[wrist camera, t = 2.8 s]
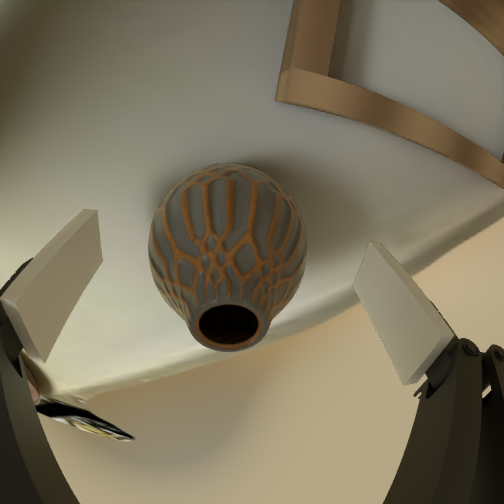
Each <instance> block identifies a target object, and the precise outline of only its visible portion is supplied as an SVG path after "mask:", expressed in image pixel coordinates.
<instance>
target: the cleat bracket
mask: <svg viewBox="0 0 504 504" xmlns="http://www.w3.org/2000/svg"><path fill="white" fill-rule="evenodd" d="M439 1H441V2H442V3H443V4H445V5H446V6H448V7H449V8H450V9H452V10H453V11H454V12H456V13H457V14H458V15H460V16H461V17H462V18H463V19H465V20H466V21H467V22H468V23H469V24H471V25H472V26H473V27H474V28H475V29H476V30H478V31H479V32H480V33H481V34H482V35H483V36H484V37H485V38H486V39H488V40H489V41H490V42H491V43H492V44H493V45H494V46H495V47H496V48H497V49H498V50H499V51H500V52H501V53H502V54H503V55H504V0H439ZM340 2H341V0H294V2H293V7H292V13H291V18H290V23H289V28H288V33H287V39H286V44H285V49H284V54H283V60H282V65H281V70H280V75H279V81H278V86H277V91H276V97H275V101H278V102H283V103H288V104H293V105H297V106H302V107H306V108H310V109H315V110H319V111H322V112H326V113H330V114H334V115H337V116H341V117H344V118H348V119H351V120H354V121H357V122H360V123H364V124H367V125H370V126H372V127H375V128H378V129H381V130H384V131H387V132H389V133H392V134H395V135H397V136H400V137H402V138H405V139H407V140H410V141H412V142H415V143H417V144H419V145H422V146H424V147H426V148H428V149H431V150H433V151H435V152H437V153H439V154H441V155H444V156H446V157H448V158H450V159H452V160H454V161H456V162H458V163H460V164H461V165H463V166H465V167H467V168H469V169H471V170H473V171H474V172H476V173H478V174H480V175H482V176H483V177H485V178H487V179H488V180H490V181H492V182H493V183H495V184H497V185H498V186H500V187H501V188H503V189H504V154H503V158H502V162H500V161H499V160H498V159H496V158H495V157H493V156H492V155H491V154H489V153H488V152H486V151H485V150H483V149H482V148H481V147H479V146H478V145H476V144H474V143H473V142H471V141H470V140H468V139H467V138H465V137H463V136H462V135H460V134H458V133H457V132H455V131H453V130H452V129H450V128H448V127H446V126H445V125H443V124H441V123H439V122H437V121H436V120H434V119H432V118H430V117H428V116H426V115H424V114H422V113H420V112H418V111H416V110H414V109H412V108H410V107H407V106H405V105H403V104H401V103H399V102H396V101H394V100H392V99H389V98H387V97H384V96H382V95H379V94H377V93H374V92H372V91H369V90H366V89H364V88H361V87H358V86H355V85H352V84H349V83H346V82H343V81H340V80H337V79H334V78H330V77H328V72H329V66H330V61H331V56H332V50H333V44H334V39H335V33H336V27H337V21H338V15H339V8H340Z"/></svg>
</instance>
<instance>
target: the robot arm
mask: <svg viewBox="0 0 504 504" xmlns="http://www.w3.org/2000/svg"><path fill="white" fill-rule="evenodd" d="M102 262H103V259H102V251H101V243H100V233H99V223H98V210H88V209H84V210H83V211H81V212H80V213H79V214H78V215H77V216H76V217H75V218H74V219H73V220H72V221H70V222H69V223H68V224H67V225H66V226H65V227H64V228H63V229H62V230H61V231H60V232H59V233H58V234H57V235H56V236H55V237H54V238H53V239H52V240H51V241H50V242H49V243H48V244H47V245H46V246H45V247H44V248H43V249H42V250H41V251H40V252H39V253H38V254H37V255H36V256H35V257H34V258H31V259H30V260H28V261H27V262H25V263H23V264H22V265H21V266H20V267H19V269H18V270H17V271H16V273H14V274H13V275H12V277H11V278H10V280H8V281H7V282H6V284H5V285H4V286H3V287H2V288H1V290H0V504H80V503H79V501H78V500H77V498H76V496H75V495H74V493H73V491H72V490H71V488H70V486H69V484H68V482H67V481H66V479H65V477H64V475H63V473H62V471H61V469H60V467H59V465H58V463H57V461H56V459H55V457H54V454H53V452H52V450H51V448H50V445H49V443H48V441H47V438H46V436H45V433H44V431H43V428H42V425H41V423H40V420H39V417H38V414H37V411H36V408H35V405H34V402H33V398H32V395H31V392H30V388H29V384H28V381H27V377H26V373H25V368H24V364H23V360H22V358H21V356H20V352H21V350H22V348H24V350H25V351H26V353H27V355H28V357H29V358H31V359H33V360H36V361H39V362H42V363H45V362H46V360H47V358H48V356H49V354H50V352H51V350H52V348H53V346H54V344H55V342H56V340H57V338H58V336H59V334H60V332H61V330H62V328H63V326H64V324H65V323H66V321H67V319H68V317H69V315H70V314H71V312H72V310H73V308H74V307H75V305H76V303H77V301H78V300H79V298H80V296H81V295H82V293H83V291H84V290H85V288H86V286H87V285H88V283H89V282H90V280H91V278H92V277H93V275H94V274H95V272H96V271H97V269H98V268H99V266H100V265H101V263H102ZM352 287H353V288H354V290H355V292H356V294H357V296H358V297H359V299H360V301H361V303H362V305H363V306H364V308H365V310H366V312H367V314H368V316H369V317H370V319H371V321H372V323H373V325H374V327H375V329H376V331H377V333H378V334H379V336H380V338H381V340H382V342H383V344H384V346H385V348H386V350H387V352H388V354H389V356H390V358H391V360H392V362H393V365H394V367H395V369H396V371H397V373H398V375H399V377H400V379H401V381H402V384H403V385H408V384H413V383H417V382H418V380H419V379H420V378H421V377H422V376H423V375H424V374H426V376H427V377H428V379H427V380H426V381H425V382H424V383H423V384H422V386H421V387H420V388H419V389H418V390H417V391H416V392H415V394H414V395H413V396H415V397H416V396H417V394H418V393H420V392H422V393H421V395H420V396H419V398H418V399H420V401H419V405H418V409H417V413H416V417H415V420H414V424H413V427H412V431H411V434H410V437H409V440H408V443H407V446H406V449H405V452H404V455H403V457H402V460H401V463H400V465H399V468H398V471H397V473H396V476H395V478H394V480H393V483H392V485H391V487H390V490H389V492H388V494H387V496H386V498H385V500H384V502H383V504H504V349H503V348H501V347H500V346H498V345H491V346H490V347H489V349H488V350H487V351H486V352H485V353H483V352H480V351H479V349H478V347H477V346H476V345H475V344H474V343H473V342H472V341H470V340H469V339H465V338H461V339H458V337H457V336H456V335H455V333H454V331H453V330H452V329H451V327H450V326H449V324H448V323H447V322H446V320H445V319H444V318H443V316H442V315H441V313H440V312H438V309H437V308H436V307H435V305H434V304H433V303H432V302H431V301H430V300H429V299H428V298H427V297H426V296H425V294H424V293H423V292H422V290H421V289H420V288H419V287H418V285H417V284H416V283H415V282H414V280H413V279H412V278H411V277H410V275H409V274H408V273H407V272H406V271H405V269H404V268H403V267H402V266H401V265H400V264H399V262H398V261H397V260H396V259H395V258H394V257H393V255H392V254H391V253H390V252H389V251H388V250H387V249H386V248H385V246H384V245H383V244H382V243H377V242H369V245H368V247H367V250H366V253H365V255H364V258H363V260H362V263H361V266H360V268H359V270H358V273H357V275H356V278H355V280H354V283H353V285H352ZM489 385H490V386H491V391H490V392H489V393H488V394H487V395H486V396H485V397H484V398H482V393H483V391H484V390H485V389H486V388H487V387H488V386H489Z"/></svg>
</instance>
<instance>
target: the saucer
mask: <svg viewBox="0 0 504 504" xmlns="http://www.w3.org/2000/svg"><path fill="white" fill-rule="evenodd" d="M23 364H24V363H23ZM24 368H25V373H26V377H27V381H28V384H29V388H30V392H31V395H32V398H33V402H34V405H36V404H39V403H40V396H39V392H38V388H37V385H36V383H35V380H34V378H33V376H32V374H31V372H30V371H29V369H28V368H27V367H26V365H25V364H24Z"/></svg>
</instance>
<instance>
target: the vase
mask: <svg viewBox="0 0 504 504" xmlns="http://www.w3.org/2000/svg"><path fill="white" fill-rule="evenodd" d="M148 251H149V263H150V268H151V272H152V276H153V279H154V281H155V284H156V286H157V288H158V290H159V292H160V293H161V295H162V297H163V298H164V300H165V301H166V302H167V303H168V305H169V306H170V307H171V308H172V309H173V310H174V311H175V312H176V313H177V314H178V315H179V316H180V317H181V318H182V319H184V320H185V321H186V324H187V326H188V328H189V330H190V332H191V334H192V336H193V337H194V338H195V339H196V340H197V341H198V342H199V343H200V344H202V345H203V346H205V347H207V348H210V349H212V350H216V351H222V352H235V351H241V350H245V349H248V348H250V347H252V346H254V345H255V344H257V343H258V342H260V341H261V340H262V339H263V337H264V336H265V335H266V333H267V331H268V329H269V326H270V323H271V321H272V319H273V318H274V317H275V316H276V315H277V314H279V313H280V312H281V310H282V309H283V308H284V307H285V306H286V305H287V304H288V303H289V301H290V300H291V299H292V297H293V296H294V294H295V293H296V291H297V289H298V287H299V285H300V282H301V280H302V277H303V274H304V270H305V264H306V255H307V241H306V232H305V228H304V223H303V220H302V217H301V215H300V213H299V211H298V208H297V207H296V205H295V203H294V201H293V200H292V198H291V197H290V196H289V194H288V193H287V192H286V191H285V189H284V188H283V187H282V186H281V185H280V184H279V183H278V182H276V181H275V180H274V179H273V178H272V177H270V176H269V175H267V174H265V173H264V172H262V171H260V170H257V169H255V168H252V167H249V166H245V165H241V164H231V163H223V164H215V165H210V166H207V167H203V168H200V169H198V170H196V171H194V172H192V173H190V174H188V175H187V176H185V177H184V178H182V179H181V180H180V181H179V182H178V183H177V184H176V185H175V186H174V187H173V188H172V189H171V190H170V191H169V192H168V193H167V195H166V196H165V197H164V199H163V200H162V202H161V204H160V205H159V207H158V209H157V211H156V213H155V215H154V218H153V221H152V225H151V229H150V234H149V245H148Z"/></svg>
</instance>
